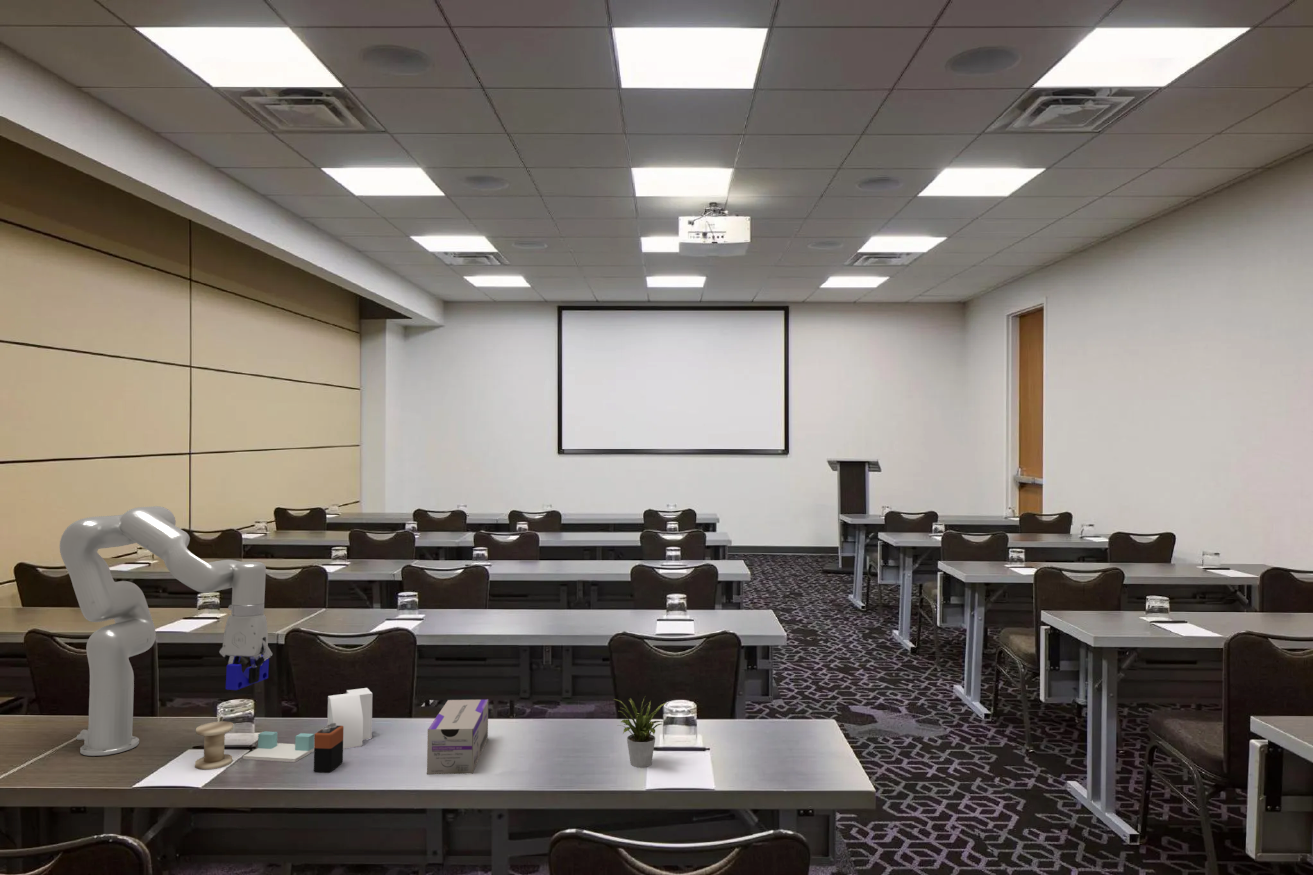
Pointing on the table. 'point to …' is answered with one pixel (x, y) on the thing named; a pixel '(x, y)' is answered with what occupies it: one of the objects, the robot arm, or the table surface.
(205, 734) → the bobbin
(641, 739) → the house plant
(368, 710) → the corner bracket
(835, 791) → the table surface
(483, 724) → the surgical sutures box
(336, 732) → the battery
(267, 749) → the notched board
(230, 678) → the blue cradle bracket
